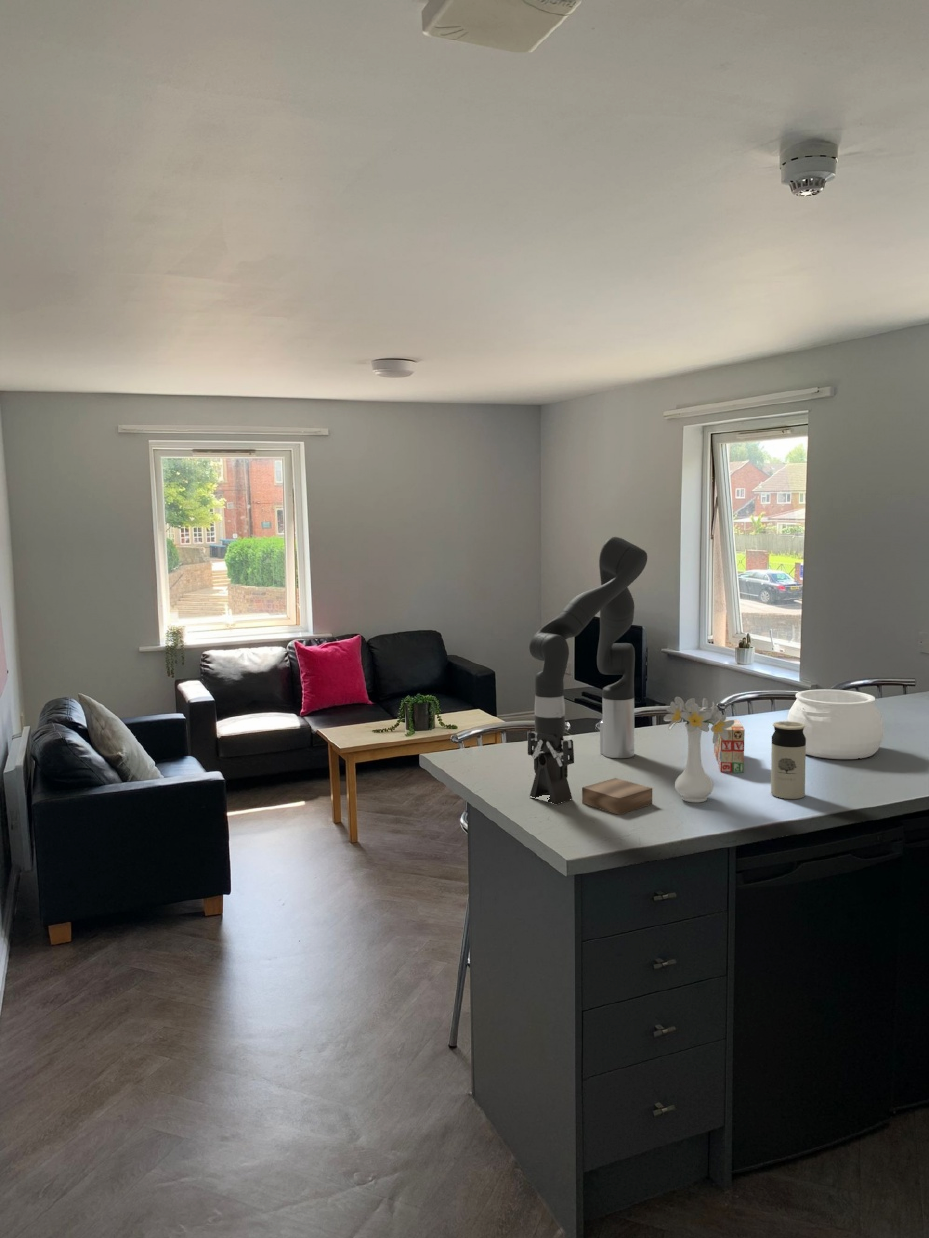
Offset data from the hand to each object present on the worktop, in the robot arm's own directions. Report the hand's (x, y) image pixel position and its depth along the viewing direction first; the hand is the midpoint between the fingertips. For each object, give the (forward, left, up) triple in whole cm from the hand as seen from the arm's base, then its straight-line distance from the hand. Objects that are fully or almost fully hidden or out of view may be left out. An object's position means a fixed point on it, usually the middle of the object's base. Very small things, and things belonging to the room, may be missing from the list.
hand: (550, 776), depth 227 cm
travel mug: (+38, +45, -6) cm, 59 cm away
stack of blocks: (+10, +60, -6) cm, 61 cm away
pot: (+23, +93, -6) cm, 96 cm away
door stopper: (0, 0, -6) cm, 6 cm away
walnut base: (+14, +9, -6) cm, 18 cm away
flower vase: (+25, +26, -6) cm, 37 cm away
